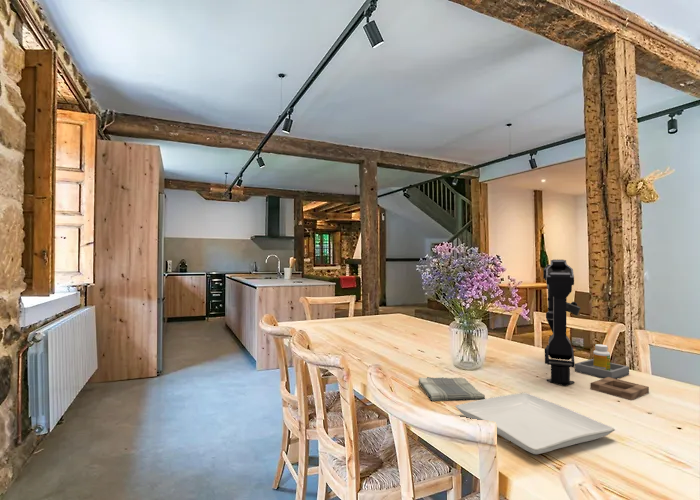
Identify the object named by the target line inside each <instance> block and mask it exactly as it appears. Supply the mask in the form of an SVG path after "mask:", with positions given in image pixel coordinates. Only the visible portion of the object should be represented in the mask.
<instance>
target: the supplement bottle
mask: <svg viewBox="0 0 700 500" xmlns="http://www.w3.org/2000/svg"><path fill="white" fill-rule="evenodd" d="M594 349H595V350H593V352H592V353H593V355H592V356H593V358H592V359H593V367H595V368H599V369H603V370H608V371H610V363H611V352H609V351H608V350H609V346H608V345H606V344H601V343H600V344H597V343H596V344H595V346H594Z"/></svg>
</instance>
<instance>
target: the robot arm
mask: <svg viewBox="0 0 700 500" xmlns="http://www.w3.org/2000/svg"><path fill="white" fill-rule="evenodd" d="M542 271H543V272H542V273H543V274H542V275H543V276H542V277H543V278H542V280H544V281H545V283H546V289H547V312H545V319H546V321H547V323H548V326H549V327H550V331H551V332H552V334H551V335H550V336H548V344H546V347H545V348H544V364H545V365H547V366H550V378H548V379H546V381H547V382H548V383H552V384H555V385H557V386H558V385H559V386H562V387H566V386H569V385H573V384H575V381H573V380H571V368H573V369H575V363H576V362H575V354H574V353H575V352H574V347H573V346H572V342H571V340H570V338H569V336H567V312H568V313H570V314H573V315H575V316H578V315H579V313H580V311H581V309H582V308H581V307H580V306H578V303H577V302H575V301H572V302H571V303H570V302H567V300H568V299H567V298H568V297H569V296H570V294H571V293H572V291H573V286H574V285H575V274H574V269H573V268H572V267H571V266H570V265H568V264H567V260H566V259H552V260H551V259H550V264H546V266H545V267H544V269H543V270H542Z"/></svg>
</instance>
